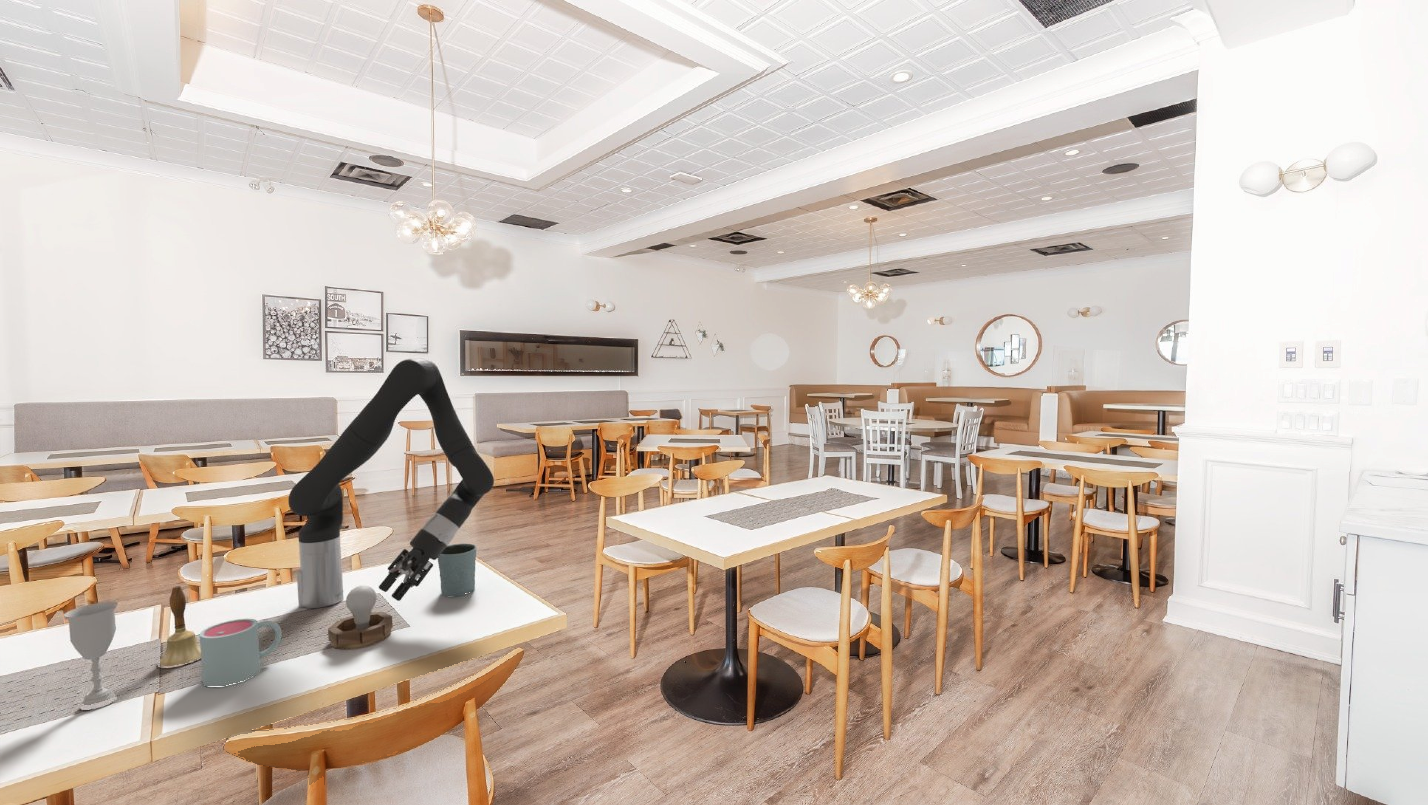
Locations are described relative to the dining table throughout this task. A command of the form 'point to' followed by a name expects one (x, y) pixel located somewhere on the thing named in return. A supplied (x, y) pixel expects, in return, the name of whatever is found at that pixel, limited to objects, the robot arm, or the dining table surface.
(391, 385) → the robot arm
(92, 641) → the chalice
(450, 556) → the teal cylindrical pot
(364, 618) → the lightbulb
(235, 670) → the mug
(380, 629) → the holder
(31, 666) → the dining table surface
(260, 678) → the dining table surface
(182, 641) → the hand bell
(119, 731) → the dining table surface
